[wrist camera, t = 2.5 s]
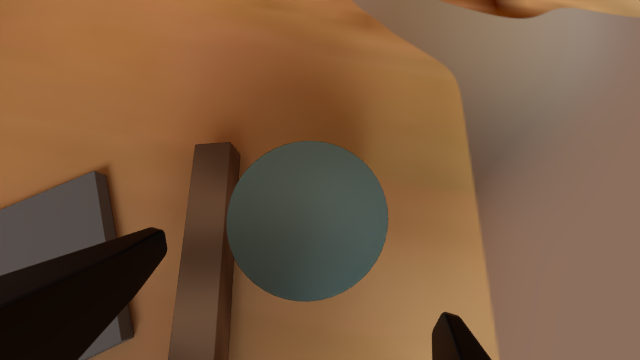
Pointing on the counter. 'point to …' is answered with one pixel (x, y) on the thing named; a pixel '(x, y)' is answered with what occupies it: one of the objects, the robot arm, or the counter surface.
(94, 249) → the robot arm
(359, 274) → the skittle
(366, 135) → the counter surface
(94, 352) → the mat
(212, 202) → the bar
